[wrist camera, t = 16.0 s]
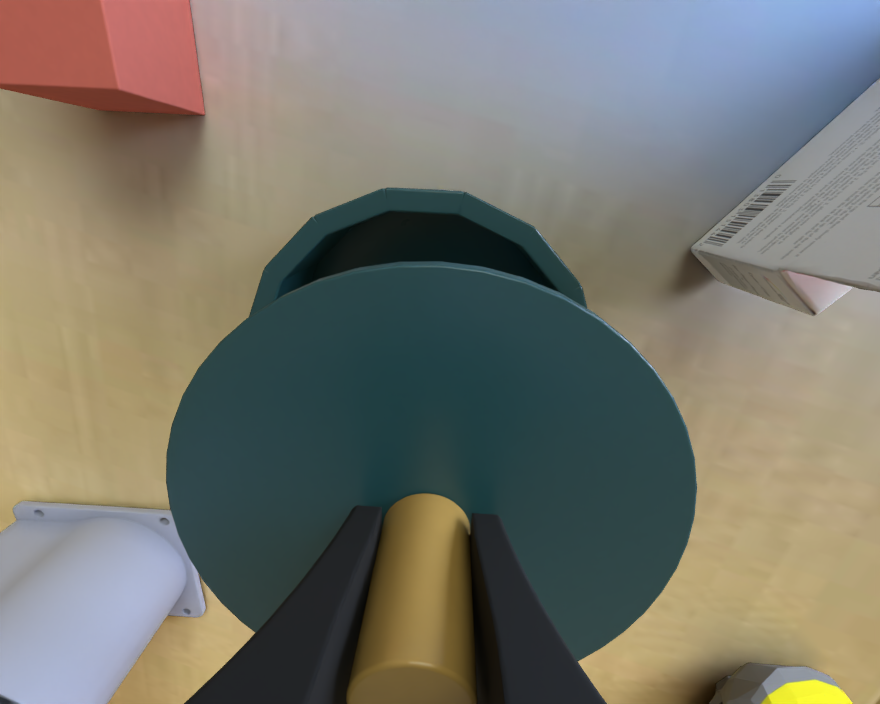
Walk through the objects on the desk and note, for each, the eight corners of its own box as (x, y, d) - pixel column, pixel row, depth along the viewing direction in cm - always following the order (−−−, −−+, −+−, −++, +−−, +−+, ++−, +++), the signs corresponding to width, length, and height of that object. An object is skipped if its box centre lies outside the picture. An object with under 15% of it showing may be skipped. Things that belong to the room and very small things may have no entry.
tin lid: (225, 641, 14) (108, 871, 9) (146, 238, 9) (-173, 290, 5) (618, 669, 14) (701, 917, 9) (742, 274, 9) (1051, 366, 4)
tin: (302, 441, 22) (265, 502, 17) (280, 181, 17) (223, 179, 13) (543, 455, 21) (565, 520, 17) (585, 197, 17) (628, 199, 13)
